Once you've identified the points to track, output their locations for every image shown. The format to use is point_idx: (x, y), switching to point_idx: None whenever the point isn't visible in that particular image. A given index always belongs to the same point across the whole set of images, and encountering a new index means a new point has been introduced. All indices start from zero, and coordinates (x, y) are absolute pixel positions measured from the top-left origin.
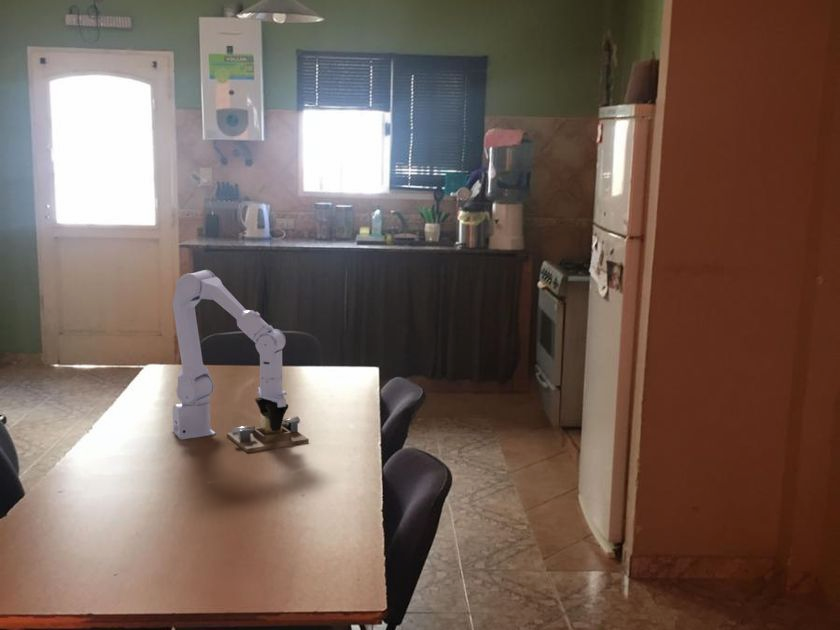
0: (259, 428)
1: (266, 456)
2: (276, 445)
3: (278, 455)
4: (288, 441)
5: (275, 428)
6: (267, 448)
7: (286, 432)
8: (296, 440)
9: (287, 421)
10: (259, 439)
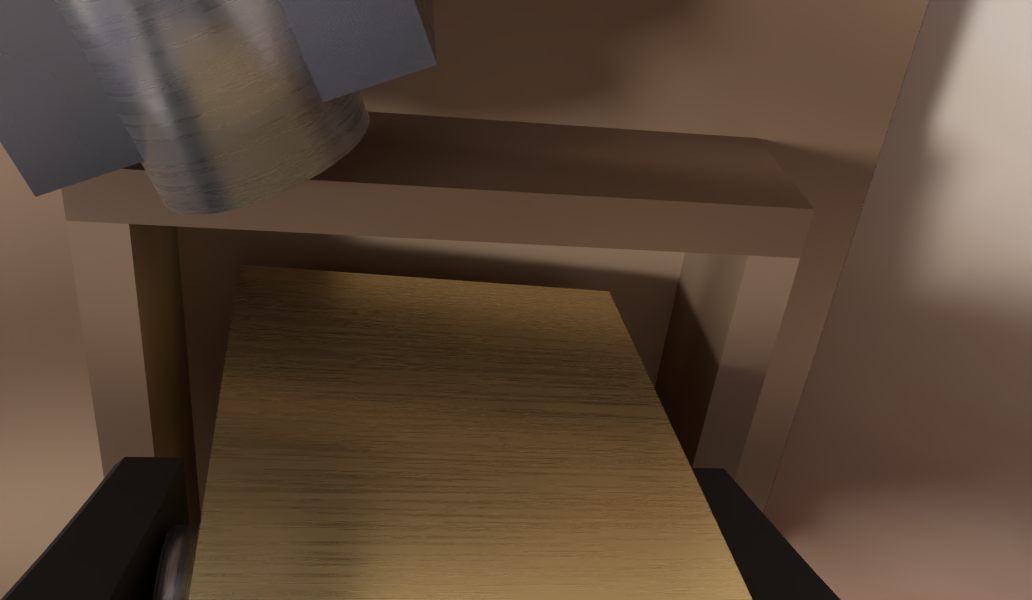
0: None
1: (919, 584)
2: (781, 429)
3: (1009, 470)
4: (813, 234)
5: None
6: None
7: (749, 301)
8: (878, 80)
9: (303, 121)
10: None
